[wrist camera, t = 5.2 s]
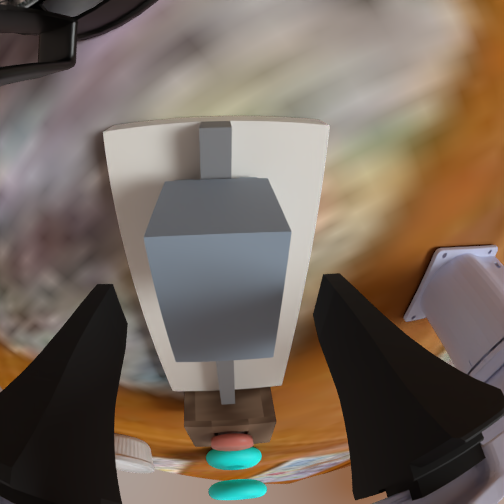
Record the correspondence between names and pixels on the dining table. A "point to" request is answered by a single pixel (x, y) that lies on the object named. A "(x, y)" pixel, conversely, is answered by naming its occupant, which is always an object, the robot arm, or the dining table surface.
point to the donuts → (240, 486)
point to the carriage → (219, 267)
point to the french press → (59, 32)
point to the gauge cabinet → (229, 415)
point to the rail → (219, 167)
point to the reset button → (231, 441)
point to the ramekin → (132, 454)
